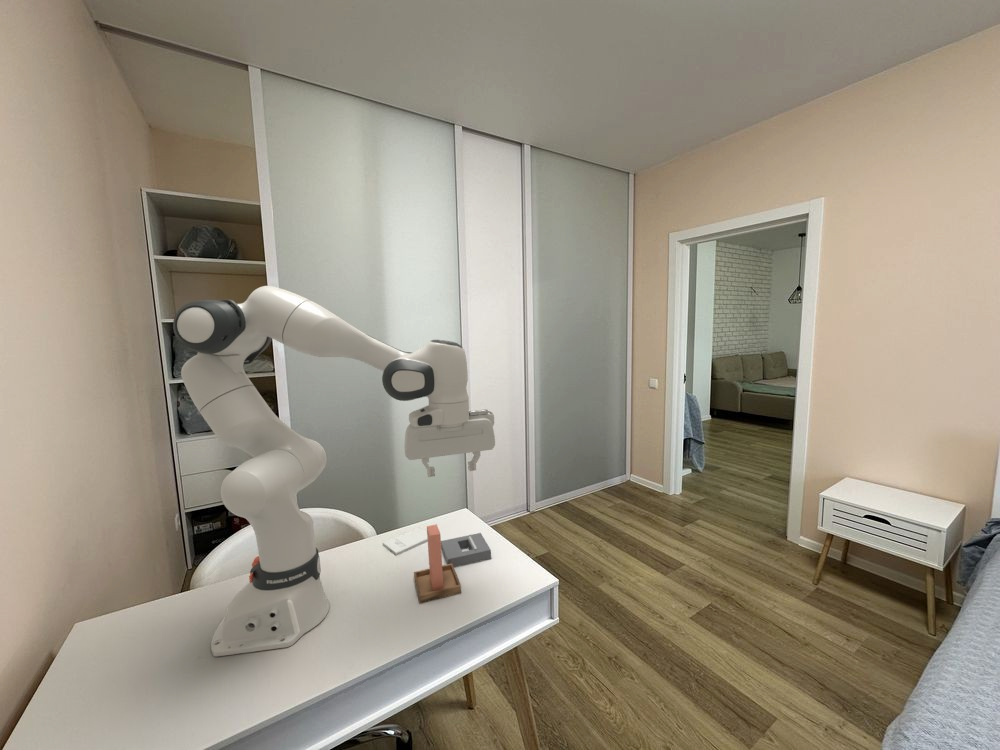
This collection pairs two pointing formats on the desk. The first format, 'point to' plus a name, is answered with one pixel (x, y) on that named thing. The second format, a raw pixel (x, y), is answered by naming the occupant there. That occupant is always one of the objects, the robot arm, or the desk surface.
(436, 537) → the pink rectangular bar
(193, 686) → the desk surface
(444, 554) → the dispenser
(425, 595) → the tray
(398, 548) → the external hard drive
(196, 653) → the desk surface
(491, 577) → the desk surface
